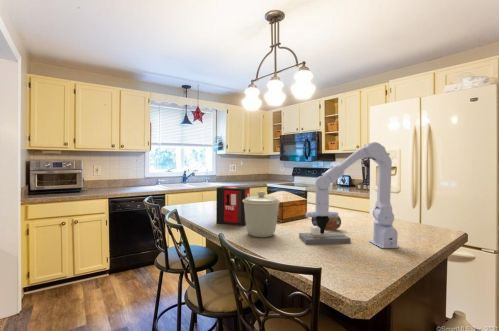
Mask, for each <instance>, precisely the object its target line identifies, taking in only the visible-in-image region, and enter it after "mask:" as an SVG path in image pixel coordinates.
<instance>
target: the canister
mask: <svg viewBox="0 0 499 331" xmlns="http://www.w3.org/2000/svg"><path fill="white" fill-rule="evenodd" d="M242 201H243V202H244V210H245V220H246V225H245V226H246V231H247V232H246V233H248V235H249V236H251V237H253V238H269V237H272V236H273V235H274V234H275V233H276V228H277V222H278V213H279V206H280V203H281V200H280V199H278V198H277V197H274V196H270V195H268V196H267V195H266V193H265V191H264V190H259V191H258V192H257V195H253V196H252V195H250V197H247V198H245V199H244V200H242Z"/></svg>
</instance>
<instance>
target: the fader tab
mask: <svg viewBox="0 0 499 331" xmlns="http://www.w3.org/2000/svg"><path fill="white" fill-rule="evenodd" d="M310 233H312V234H313V235H320V228H319V227H318V226H314V225H310Z"/></svg>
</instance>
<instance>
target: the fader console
mask: <svg viewBox="0 0 499 331" xmlns="http://www.w3.org/2000/svg"><path fill="white" fill-rule="evenodd" d="M298 238H299V239H300V240H301V241H302V242H303V243H304V244H305V245H326V244H327V245H329V244H330V243H331V245H332V244H351V242H352V241H351V237H349V236H347V235H346V234H344V233H343V232H341V231H337V232H336V231H332V232H331V231H330V232H329V231H328V232H327V231H324V234H321V233H320V235H313V234H312V233H311V232H299V234H298Z"/></svg>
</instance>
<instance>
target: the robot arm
mask: <svg viewBox="0 0 499 331" xmlns="http://www.w3.org/2000/svg"><path fill="white" fill-rule="evenodd" d="M366 158H367V159H370V160H372V161H374V162H375V163H376V164H377V166H378V167H377V168H378V169H377V190H376V191H377V192H376V201H375V206H374V208H373V210H372V215H373V216H372V217H374V221H373V235H372V236H373V238H372V239H371V240H368V242H369V243H371V244H373V245H375V246H376V245H377V246H376V247H378V246H379V248H380V249H398V247H399V248H400V246H398V237H399V236H398V230H397V229H396V228H394V225H393V223H394V221H395V215H394V213H393V206H392V204H391V191H392V190H391V187H392V168H393V167H392V162H393V161H392V158H391V156H390V155H389V153H388V152H387V150H386V148H385V146H384V145H382V144H381V143H380V142H377V141H373V142H371V143H366V144H364V145H363V146H361V147H360V148H358V149H357V150H354V152H353V153H352V154H350V155H349V156H348V157H347V158H345V159H344V160H343V161H342V162H340V164H334V165H330V166H329V168H328V169H327V170H326V171H325V172H323V173H321V175H320V176H318V177H317V178H316V179H315V186H316V188H315V210H314V211H310V212H308V211H307V212H305V218H312V217H315V220H316V222H317V224H318V227H319V228H320V233H321V234H324V232H326V231H325V230H326V229H325V227H326V225H327V223H328V221H329V218H328V217H338V216H339V212H337V211H330V210H329V207H330V206H329V203H330V192H329V188H330V186H331V184H334V182H336V181H337V180H339V179H340V178H341V177H343V176H344V175H345V170H347V169H348V168H350V166H353V164H355V163H356V162H357V161H359V160H362V159H366Z"/></svg>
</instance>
